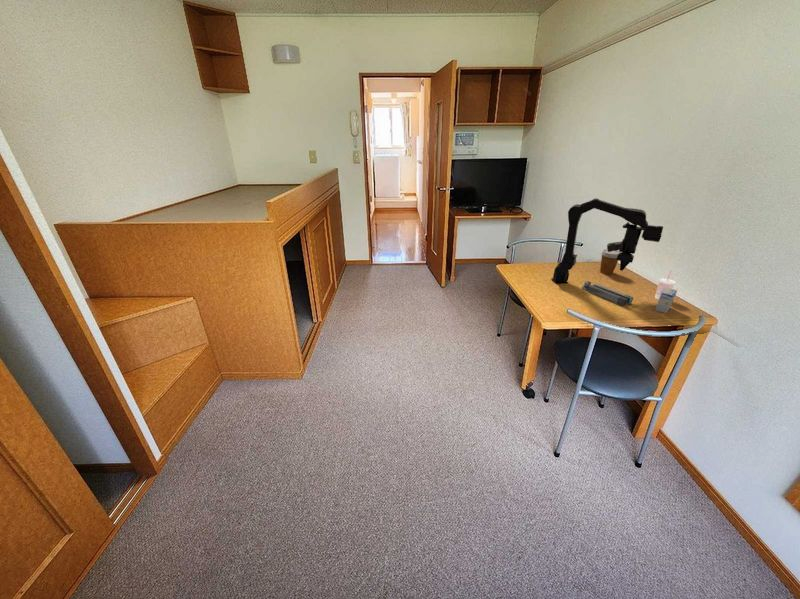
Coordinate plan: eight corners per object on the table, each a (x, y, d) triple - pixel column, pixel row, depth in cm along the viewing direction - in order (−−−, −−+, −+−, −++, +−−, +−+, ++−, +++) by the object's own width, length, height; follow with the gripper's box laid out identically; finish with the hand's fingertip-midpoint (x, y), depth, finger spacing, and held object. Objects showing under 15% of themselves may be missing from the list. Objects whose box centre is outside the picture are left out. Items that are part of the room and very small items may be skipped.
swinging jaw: (591, 289, 166) (592, 284, 165) (594, 288, 167) (596, 283, 166) (628, 304, 152) (630, 298, 150) (631, 302, 153) (633, 297, 151)
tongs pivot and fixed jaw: (578, 288, 169) (580, 281, 167) (585, 286, 171) (587, 279, 169) (622, 306, 150) (624, 299, 149) (629, 304, 152) (631, 297, 150)
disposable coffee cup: (619, 275, 182) (625, 254, 177) (602, 275, 183) (607, 254, 177) (610, 269, 191) (615, 248, 186) (593, 269, 191) (598, 249, 186)
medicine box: (658, 304, 151) (665, 287, 147) (670, 307, 148) (677, 290, 145) (654, 310, 146) (661, 292, 143) (666, 313, 144) (673, 295, 140)
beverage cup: (660, 301, 154) (671, 273, 147) (649, 296, 159) (659, 268, 153) (672, 300, 154) (683, 272, 148) (660, 295, 160) (670, 267, 154)
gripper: (613, 231, 162) (604, 261, 169) (608, 240, 149) (599, 272, 156) (640, 234, 157) (630, 265, 164) (638, 244, 143) (627, 278, 150)
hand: (621, 270), depth 159 cm, fingers closed
